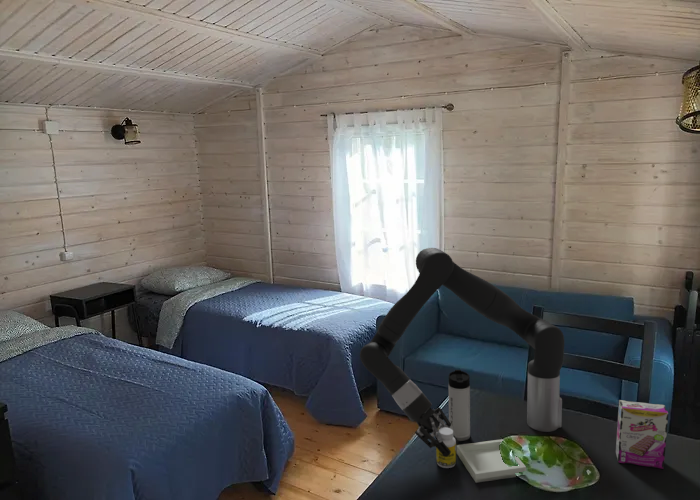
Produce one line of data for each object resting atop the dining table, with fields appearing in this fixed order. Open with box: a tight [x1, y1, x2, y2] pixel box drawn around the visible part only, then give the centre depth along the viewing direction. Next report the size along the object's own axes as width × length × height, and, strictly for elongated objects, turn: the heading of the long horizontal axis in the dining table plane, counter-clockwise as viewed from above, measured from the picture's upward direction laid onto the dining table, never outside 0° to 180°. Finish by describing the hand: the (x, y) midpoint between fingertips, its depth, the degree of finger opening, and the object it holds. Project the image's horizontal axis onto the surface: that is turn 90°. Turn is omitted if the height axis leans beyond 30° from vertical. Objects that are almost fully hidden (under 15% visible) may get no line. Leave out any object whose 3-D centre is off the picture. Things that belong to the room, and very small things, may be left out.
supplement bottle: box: [435, 427, 457, 469], centre depth 143 cm, size 5×5×10 cm
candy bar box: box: [615, 399, 669, 470], centre depth 139 cm, size 11×5×16 cm, turn 71°
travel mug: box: [448, 369, 471, 442], centre depth 156 cm, size 6×7×20 cm
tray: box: [456, 438, 527, 484], centre depth 142 cm, size 14×14×2 cm
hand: (452, 449), depth 142 cm, fingers closed on supplement bottle, 5 cm apart
